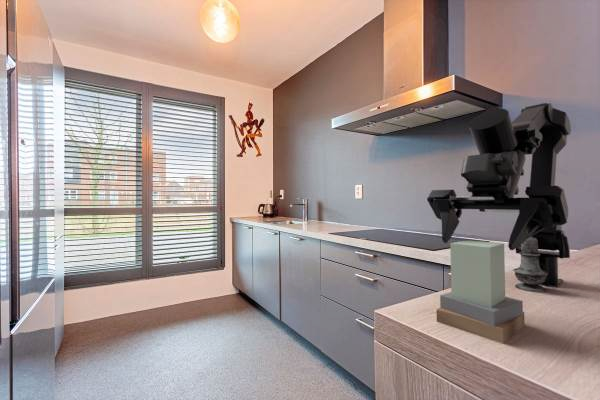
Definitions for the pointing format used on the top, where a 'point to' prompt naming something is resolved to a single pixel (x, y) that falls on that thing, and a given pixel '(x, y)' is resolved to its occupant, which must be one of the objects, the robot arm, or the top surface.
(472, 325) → the walnut base slab
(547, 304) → the top surface
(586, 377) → the top surface
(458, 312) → the charcoal top slab
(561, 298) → the top surface
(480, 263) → the sage green block
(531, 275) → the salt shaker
